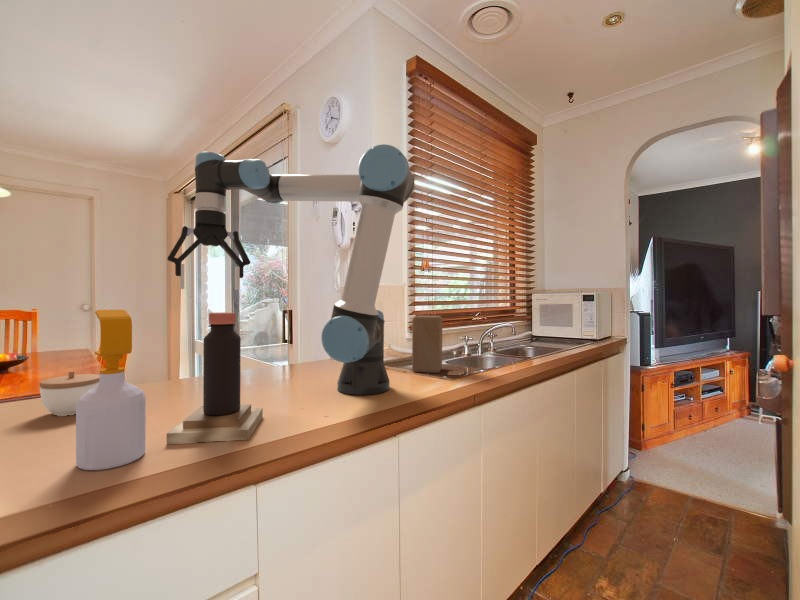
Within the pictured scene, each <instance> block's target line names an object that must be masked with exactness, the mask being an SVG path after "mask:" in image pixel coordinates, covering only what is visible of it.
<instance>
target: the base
mask: <svg viewBox="0 0 800 600" xmlns="http://www.w3.org/2000/svg"><path fill="white" fill-rule="evenodd" d="M263 412H264V411H263V407H260V408H259V407H257V408H252V404H251V403H250V404H249V403H247V404H245V403H243V404H240V410H239V411H237V412H236V413H233V414H229V415H224V416H208V415H205V414H204V412H203V405H202V406H200V407H199V408H197V410H194V411H193V412H192V413H191V414H189V415H188V416H187V417H185V418H184V419H183V420H181V422H179V423H178V424H177V425H176V426H174V427H173V428H172V429H170V430H169V431H168V432H167V433H166V445H168V446H169V445H183V444H198V443H197V442H206V443H213V442H212V441H226V442H231V441H230V440H245V441H248V440H249V439H250V438H249V437H251V436H252V435H253V433H254V431H255V429H256V428H257V427H258V425H259V423H260V422H261V421H262V419H263V417H264V416H263ZM251 434H252V435H251ZM247 439H248V440H247Z"/></svg>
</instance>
